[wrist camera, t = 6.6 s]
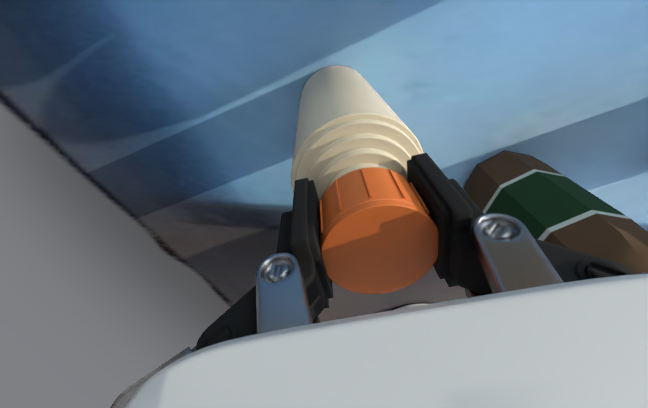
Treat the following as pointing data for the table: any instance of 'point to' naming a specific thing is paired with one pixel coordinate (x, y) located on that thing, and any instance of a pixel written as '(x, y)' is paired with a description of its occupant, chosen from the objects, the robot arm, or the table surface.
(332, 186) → the cap
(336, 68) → the bottle
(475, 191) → the beer bottle
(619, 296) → the robot arm
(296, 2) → the table surface
